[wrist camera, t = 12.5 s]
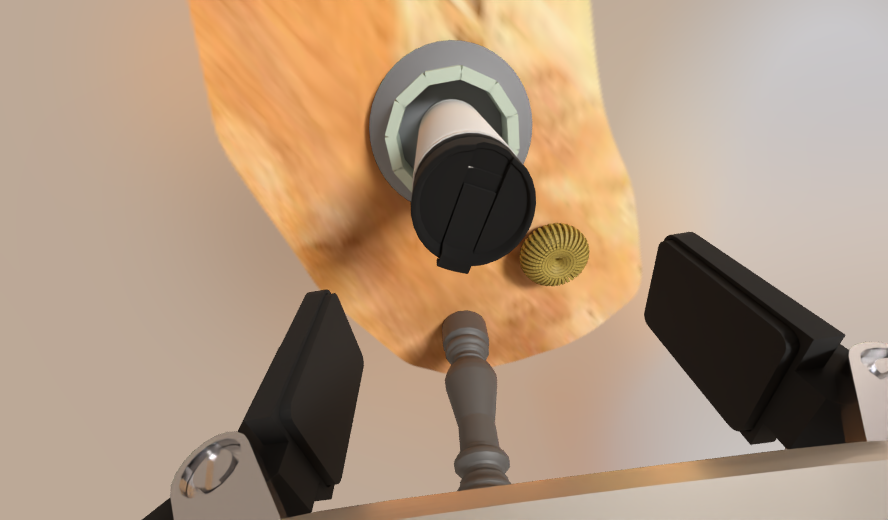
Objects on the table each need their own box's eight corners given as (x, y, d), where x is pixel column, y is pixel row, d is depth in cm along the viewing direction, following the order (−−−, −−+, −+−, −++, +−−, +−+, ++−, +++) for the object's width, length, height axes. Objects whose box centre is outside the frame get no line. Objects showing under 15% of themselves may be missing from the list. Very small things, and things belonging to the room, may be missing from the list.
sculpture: (571, 218, 35) (607, 265, 38) (559, 204, 38) (592, 248, 42) (510, 263, 38) (548, 303, 41) (503, 245, 41) (539, 284, 44)
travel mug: (410, 157, 34) (392, 258, 17) (429, 87, 31) (432, 125, 14) (468, 175, 35) (505, 287, 18) (492, 111, 32) (566, 172, 15)
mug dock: (350, 58, 30) (340, 58, 27) (527, 25, 29) (540, 20, 26) (392, 219, 38) (388, 234, 35) (531, 196, 38) (541, 210, 34)
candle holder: (460, 349, 50) (484, 570, 28) (433, 326, 47) (436, 549, 26) (494, 328, 48) (547, 548, 26) (467, 303, 45) (502, 523, 24)
